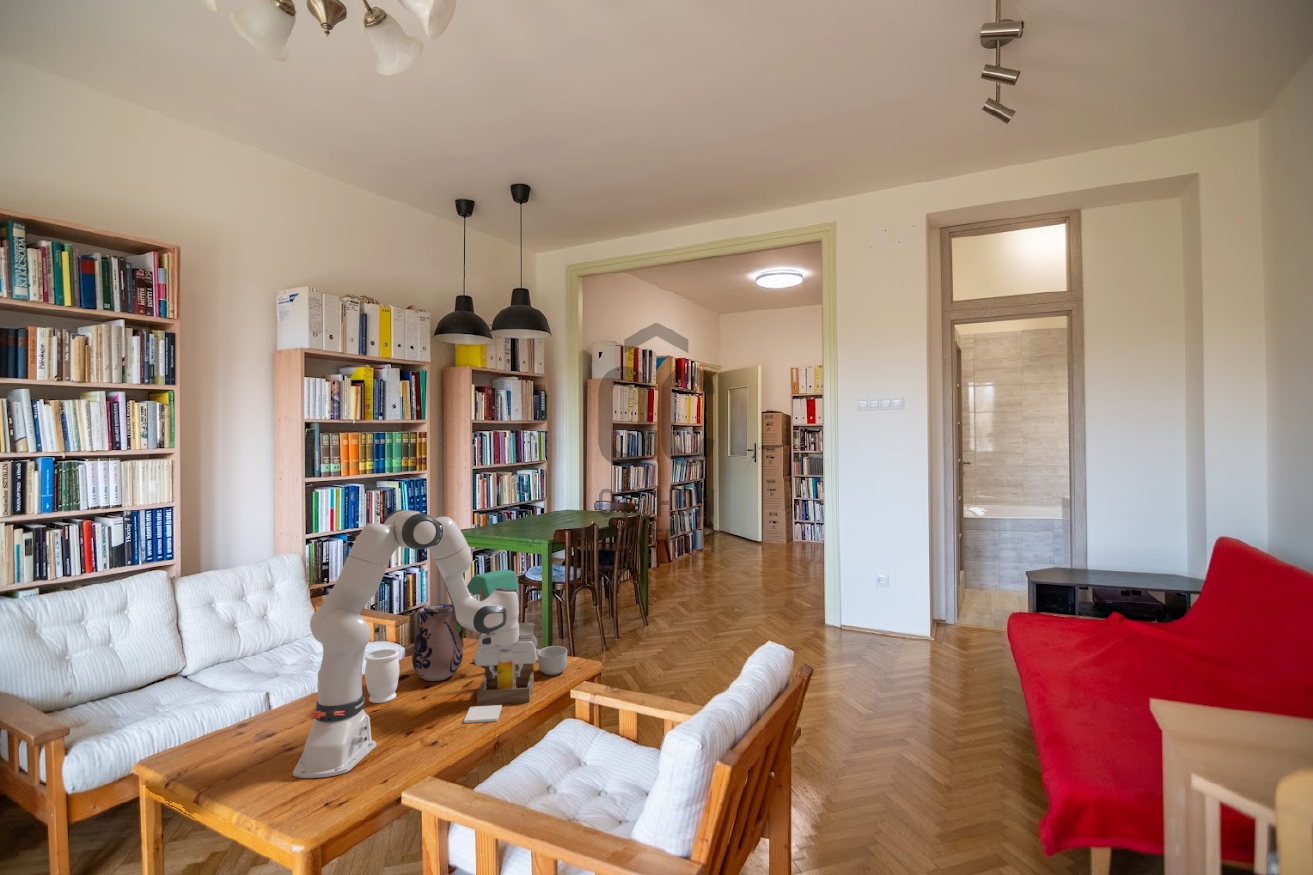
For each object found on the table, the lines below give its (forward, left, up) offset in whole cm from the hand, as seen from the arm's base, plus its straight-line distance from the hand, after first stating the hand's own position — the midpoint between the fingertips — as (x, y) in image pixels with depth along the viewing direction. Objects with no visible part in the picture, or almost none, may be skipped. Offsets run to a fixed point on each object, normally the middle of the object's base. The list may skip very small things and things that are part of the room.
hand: (506, 677), depth 212 cm
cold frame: (+2, 0, -6) cm, 6 cm away
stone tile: (-16, +5, -6) cm, 18 cm away
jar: (+2, +41, -6) cm, 41 cm away
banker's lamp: (+30, +8, -6) cm, 32 cm away
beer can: (0, 0, -6) cm, 6 cm away
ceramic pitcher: (+21, +26, -6) cm, 34 cm away
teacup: (+19, -13, -6) cm, 24 cm away
